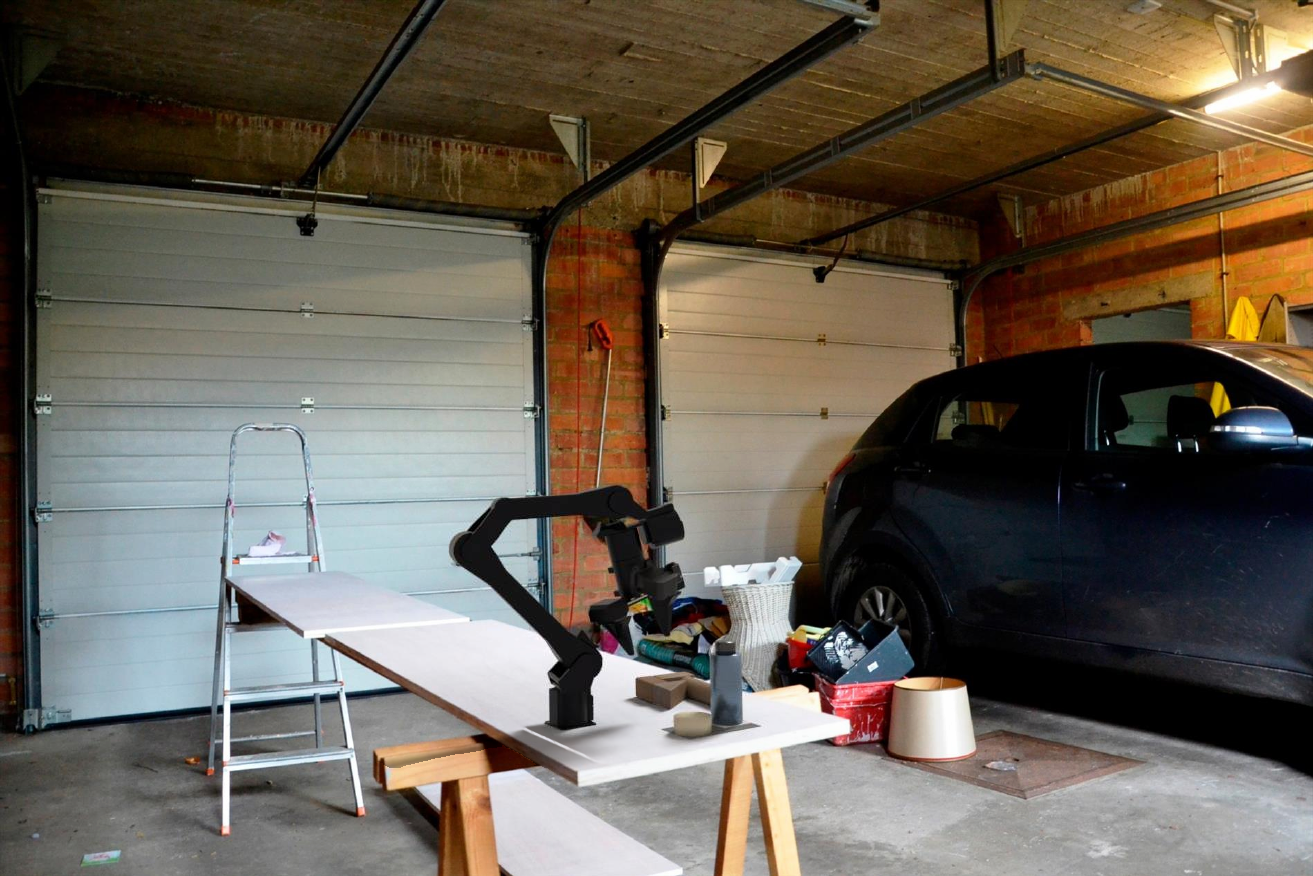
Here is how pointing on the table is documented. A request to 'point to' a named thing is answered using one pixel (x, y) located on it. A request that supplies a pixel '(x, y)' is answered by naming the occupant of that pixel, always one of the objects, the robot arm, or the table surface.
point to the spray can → (726, 684)
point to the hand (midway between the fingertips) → (649, 645)
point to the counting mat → (719, 729)
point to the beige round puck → (692, 724)
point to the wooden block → (672, 689)
